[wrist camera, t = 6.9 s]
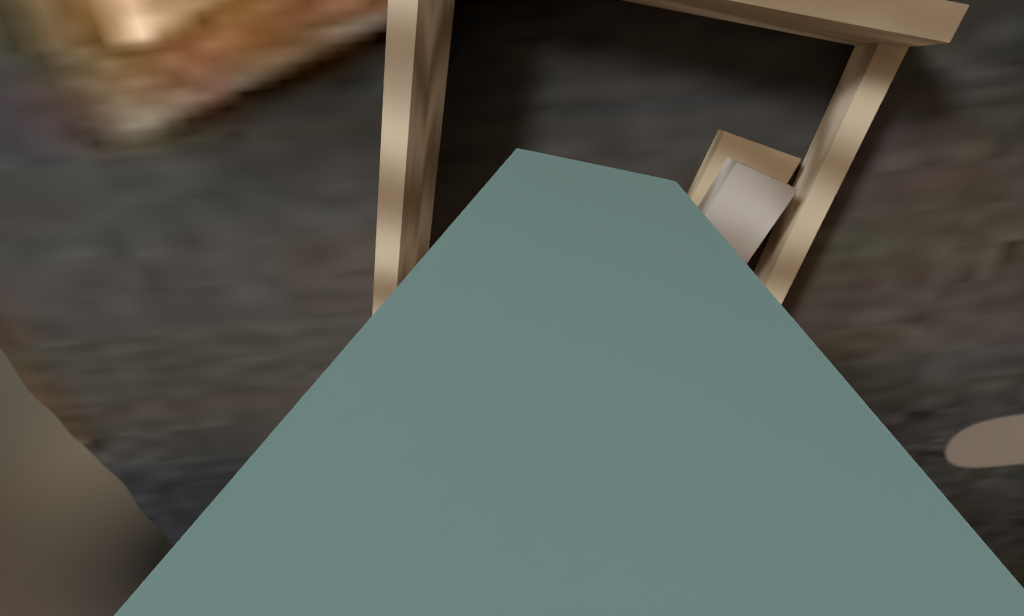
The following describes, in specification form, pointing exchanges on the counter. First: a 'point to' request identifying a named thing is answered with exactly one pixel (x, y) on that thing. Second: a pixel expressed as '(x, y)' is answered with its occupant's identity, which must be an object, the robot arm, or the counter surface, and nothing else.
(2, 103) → the counter surface
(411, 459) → the teal rectangular block
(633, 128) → the counter surface
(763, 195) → the offcut upper
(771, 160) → the offcut lower
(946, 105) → the counter surface
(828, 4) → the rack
